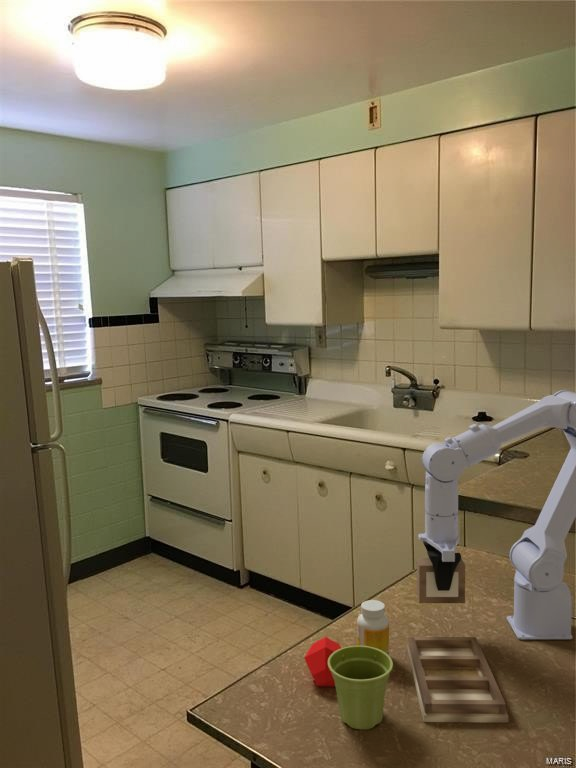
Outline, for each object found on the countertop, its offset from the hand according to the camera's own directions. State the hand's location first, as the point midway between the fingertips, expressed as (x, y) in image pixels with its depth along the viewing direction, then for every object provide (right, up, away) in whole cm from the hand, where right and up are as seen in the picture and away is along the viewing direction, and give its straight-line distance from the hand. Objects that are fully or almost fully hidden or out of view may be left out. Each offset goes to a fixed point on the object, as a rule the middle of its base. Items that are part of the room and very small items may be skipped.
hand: (441, 584), depth 119 cm
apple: (-21, -12, -12) cm, 27 cm away
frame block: (0, -3, 0) cm, 3 cm away
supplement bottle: (-13, -11, -6) cm, 18 cm away
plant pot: (-17, -13, -22) cm, 30 cm away
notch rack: (-1, -11, -14) cm, 18 cm away
